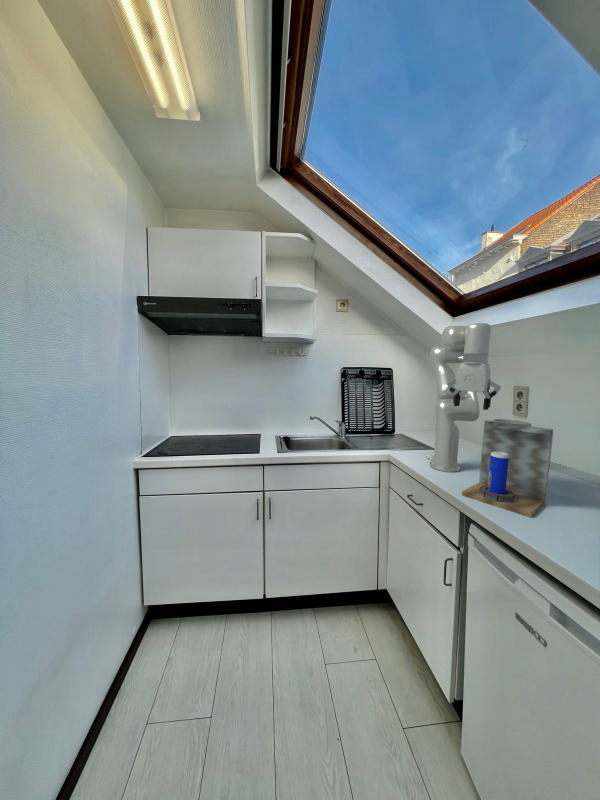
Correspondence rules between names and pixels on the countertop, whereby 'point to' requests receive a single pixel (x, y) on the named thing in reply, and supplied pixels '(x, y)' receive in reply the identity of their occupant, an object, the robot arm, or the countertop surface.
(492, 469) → the beverage can
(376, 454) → the countertop surface
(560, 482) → the countertop surface
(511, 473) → the display stand
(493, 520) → the countertop surface
